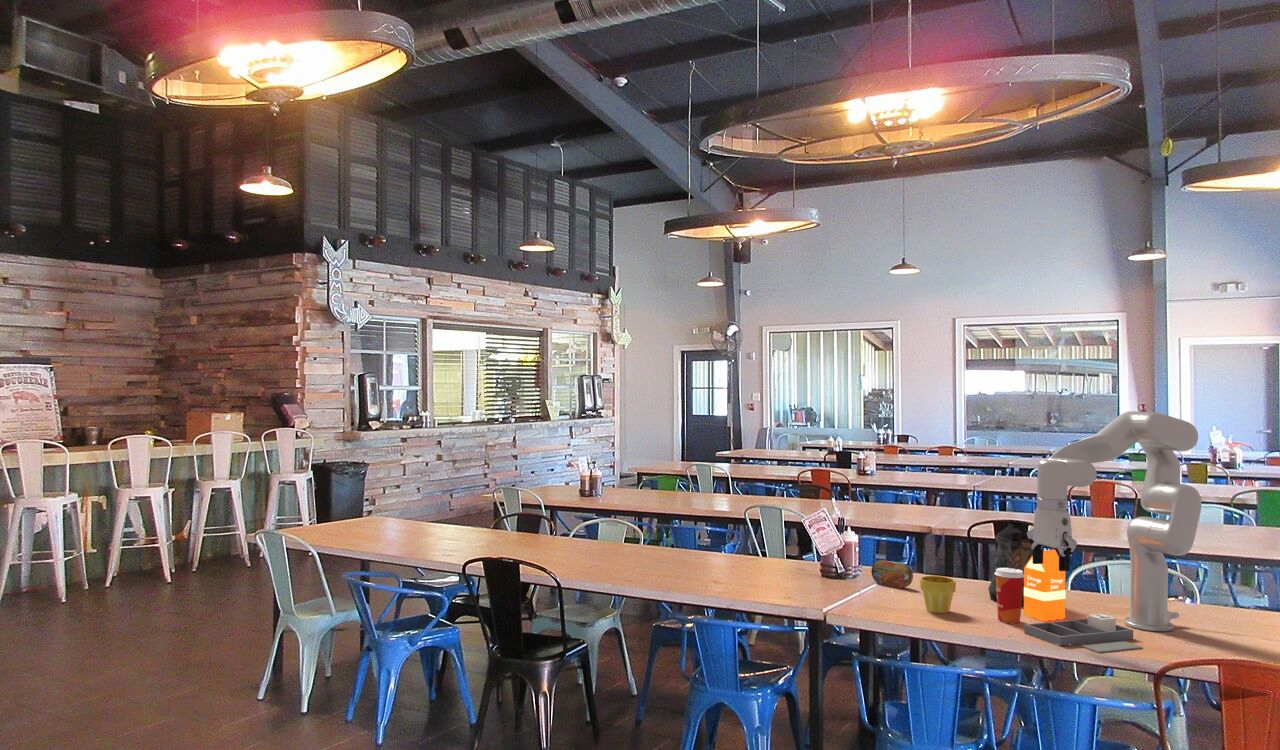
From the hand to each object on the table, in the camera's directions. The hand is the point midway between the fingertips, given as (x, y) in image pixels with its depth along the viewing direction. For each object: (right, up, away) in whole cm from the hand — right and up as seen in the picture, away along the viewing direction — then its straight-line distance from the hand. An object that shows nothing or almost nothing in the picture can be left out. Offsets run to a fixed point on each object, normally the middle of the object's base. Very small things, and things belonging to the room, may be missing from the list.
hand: (1050, 567), depth 250 cm
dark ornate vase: (+9, -20, +42) cm, 48 cm away
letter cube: (+17, -20, +5) cm, 27 cm away
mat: (+13, -20, -8) cm, 25 cm away
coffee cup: (-4, -20, +18) cm, 27 cm away
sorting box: (+9, -20, +3) cm, 22 cm away
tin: (-26, -20, +63) cm, 71 cm away
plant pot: (-22, -20, +29) cm, 41 cm away
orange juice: (+9, -20, +23) cm, 32 cm away
